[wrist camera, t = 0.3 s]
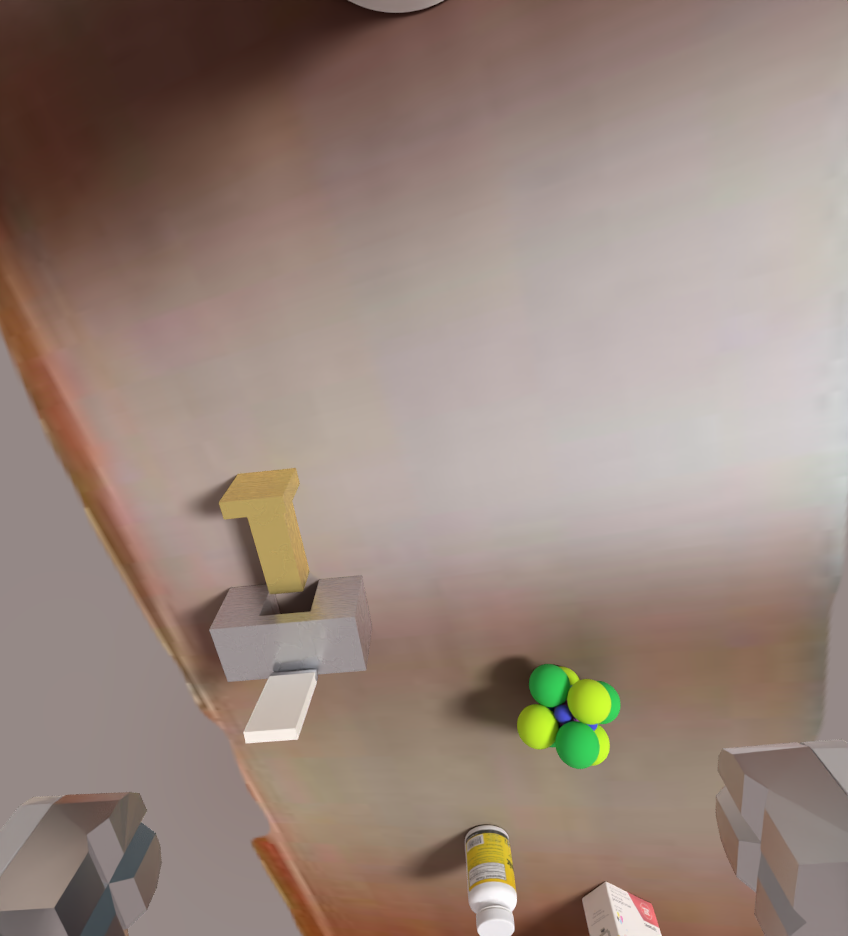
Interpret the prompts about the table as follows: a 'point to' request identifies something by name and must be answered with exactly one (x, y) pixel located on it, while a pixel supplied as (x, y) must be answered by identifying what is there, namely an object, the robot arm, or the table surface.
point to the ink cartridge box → (618, 913)
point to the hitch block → (293, 631)
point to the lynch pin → (271, 525)
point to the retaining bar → (281, 707)
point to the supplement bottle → (490, 880)
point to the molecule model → (568, 715)
